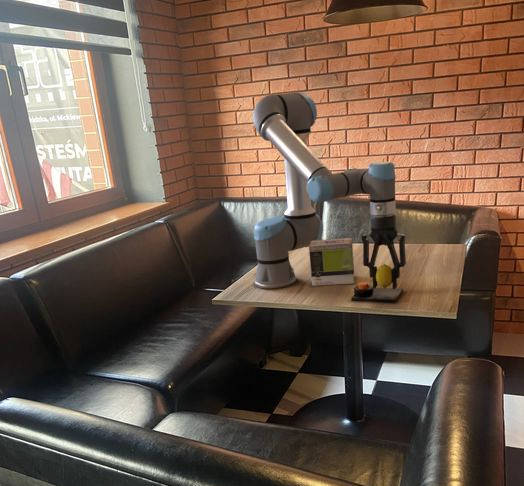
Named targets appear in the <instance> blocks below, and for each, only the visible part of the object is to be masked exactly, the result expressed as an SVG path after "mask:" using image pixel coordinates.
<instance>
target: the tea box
mask: <svg viewBox="0 0 524 486" xmlns="http://www.w3.org/2000/svg"><path fill="white" fill-rule="evenodd" d="M308 254H309V264H310V265H309V267H310V276H311V277H310V278H311V285H312V286H313V287H314V286H316V287H317V286H332V285H349V284H350V285H351V284H352V285H353V284H354V283H355V264H354V261H355V260H354V247H353V238H352V237H341V238H328V239H320V240H314V241H311V243H310V245H309V247H308Z"/></svg>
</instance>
